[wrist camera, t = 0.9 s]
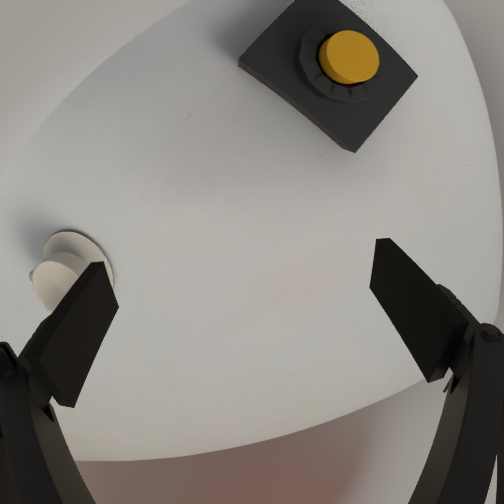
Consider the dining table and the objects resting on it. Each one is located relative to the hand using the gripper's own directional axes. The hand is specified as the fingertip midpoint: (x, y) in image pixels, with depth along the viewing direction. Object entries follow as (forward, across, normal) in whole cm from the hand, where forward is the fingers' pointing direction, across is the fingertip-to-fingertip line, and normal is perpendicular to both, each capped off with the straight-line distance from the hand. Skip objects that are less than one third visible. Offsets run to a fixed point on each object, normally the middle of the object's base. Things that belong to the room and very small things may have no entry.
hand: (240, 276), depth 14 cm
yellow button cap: (+10, +9, +11) cm, 18 cm away
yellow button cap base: (+15, +9, +11) cm, 21 cm away
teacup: (+15, -19, -7) cm, 25 cm away
